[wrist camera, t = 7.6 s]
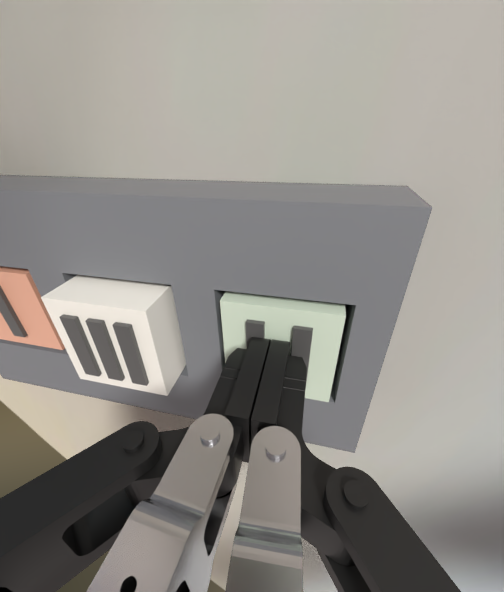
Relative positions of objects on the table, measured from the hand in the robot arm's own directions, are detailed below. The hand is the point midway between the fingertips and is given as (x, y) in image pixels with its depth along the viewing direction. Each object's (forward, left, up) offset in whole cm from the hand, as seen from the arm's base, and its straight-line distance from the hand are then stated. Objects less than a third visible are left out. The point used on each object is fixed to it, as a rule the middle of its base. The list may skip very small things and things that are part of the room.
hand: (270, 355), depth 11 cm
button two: (0, 0, -3) cm, 3 cm away
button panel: (+7, 0, -4) cm, 8 cm away
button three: (+7, 0, -2) cm, 7 cm away
